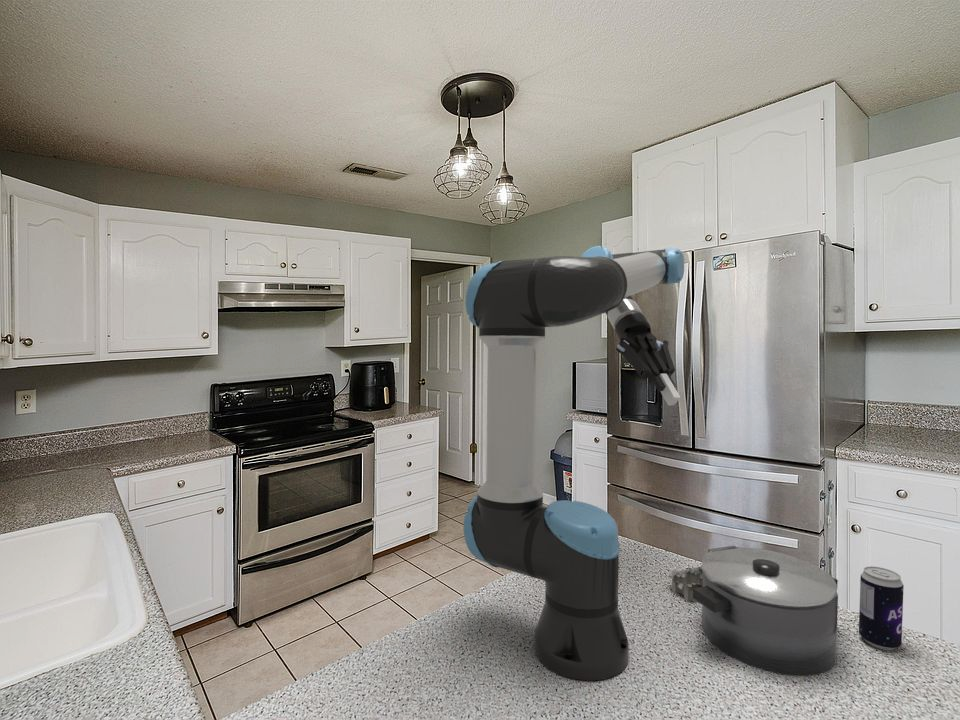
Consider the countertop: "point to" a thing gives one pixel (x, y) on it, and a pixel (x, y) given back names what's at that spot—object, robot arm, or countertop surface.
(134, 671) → the countertop surface
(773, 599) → the lid
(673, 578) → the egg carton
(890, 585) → the beverage can
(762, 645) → the cooker pot
